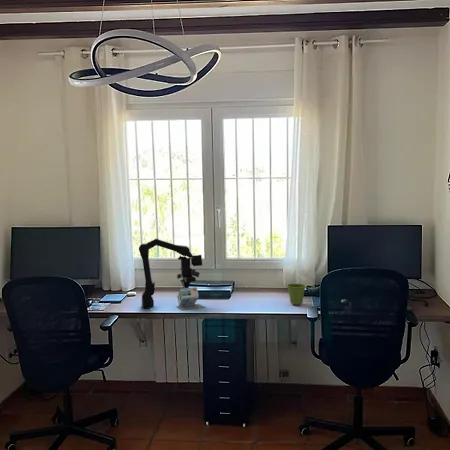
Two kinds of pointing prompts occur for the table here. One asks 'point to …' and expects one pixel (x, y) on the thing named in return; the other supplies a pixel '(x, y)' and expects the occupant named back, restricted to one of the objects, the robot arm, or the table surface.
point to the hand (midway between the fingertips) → (186, 291)
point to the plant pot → (296, 293)
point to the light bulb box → (187, 296)
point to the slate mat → (190, 307)
